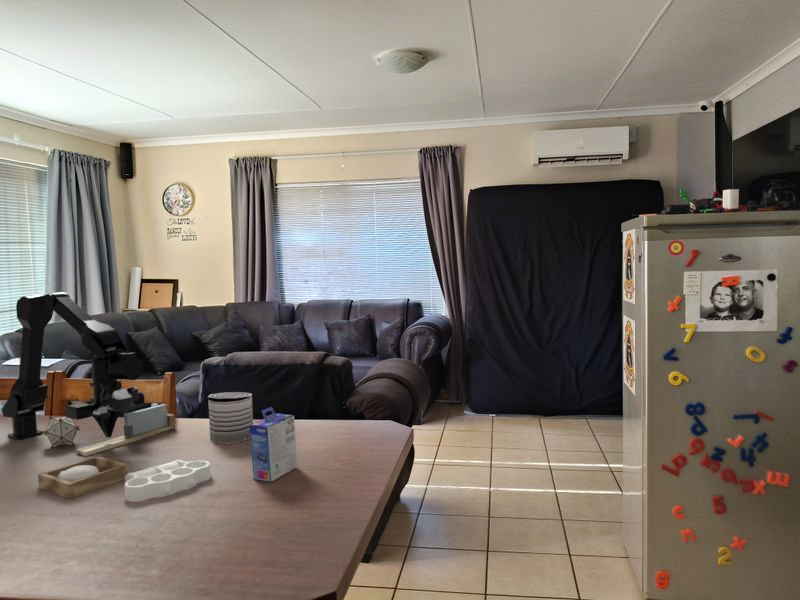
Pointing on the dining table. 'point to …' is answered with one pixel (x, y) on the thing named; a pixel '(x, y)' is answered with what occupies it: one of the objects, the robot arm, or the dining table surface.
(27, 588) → the dining table surface
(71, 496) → the garlic tray
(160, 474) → the white brass knuckles
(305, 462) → the dining table surface
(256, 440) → the ink cartridge box
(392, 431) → the dining table surface
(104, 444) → the rail
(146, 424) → the panel
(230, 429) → the can
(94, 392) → the robot arm
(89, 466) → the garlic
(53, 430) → the game die
